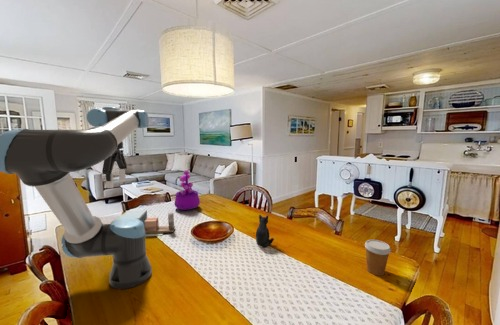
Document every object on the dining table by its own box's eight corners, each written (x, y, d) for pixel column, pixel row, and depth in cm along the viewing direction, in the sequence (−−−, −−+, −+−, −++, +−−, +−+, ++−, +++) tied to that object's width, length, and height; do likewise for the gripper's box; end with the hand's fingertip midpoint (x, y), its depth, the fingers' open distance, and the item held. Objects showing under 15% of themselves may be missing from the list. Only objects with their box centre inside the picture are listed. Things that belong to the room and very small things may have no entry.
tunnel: (167, 236, 128) (166, 217, 126) (104, 239, 123) (102, 219, 122) (172, 226, 141) (171, 209, 140) (115, 229, 137) (114, 211, 136)
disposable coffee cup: (388, 281, 89) (390, 252, 88) (361, 273, 94) (363, 246, 93) (388, 269, 97) (391, 242, 96) (364, 262, 102) (365, 237, 101)
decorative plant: (186, 214, 163) (184, 173, 159) (169, 209, 173) (167, 170, 169) (204, 207, 178) (204, 169, 174) (188, 203, 188) (187, 167, 184)
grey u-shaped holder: (172, 232, 131) (172, 215, 130) (143, 233, 129) (142, 216, 128) (175, 227, 138) (174, 211, 137) (147, 228, 136) (146, 212, 135)
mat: (162, 235, 129) (162, 235, 129) (143, 236, 127) (143, 235, 127) (166, 227, 140) (166, 227, 140) (149, 228, 138) (149, 227, 138)
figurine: (274, 241, 123) (275, 214, 121) (272, 250, 113) (273, 221, 111) (257, 239, 124) (257, 213, 123) (253, 248, 115) (253, 219, 113)
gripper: (109, 141, 96) (113, 190, 99) (131, 139, 120) (134, 179, 123) (90, 141, 95) (94, 191, 98) (116, 139, 120) (119, 179, 122)
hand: (116, 184), depth 110 cm, fingers open, 13 cm apart
